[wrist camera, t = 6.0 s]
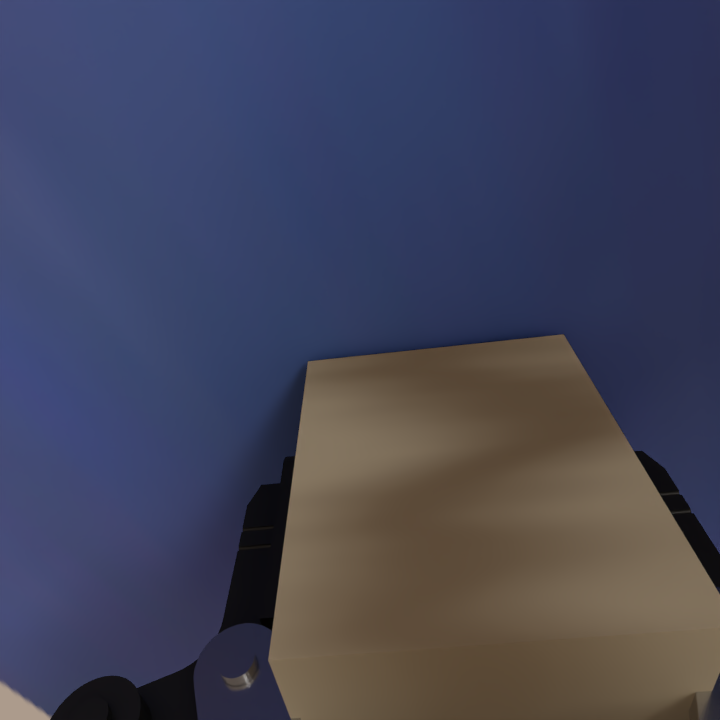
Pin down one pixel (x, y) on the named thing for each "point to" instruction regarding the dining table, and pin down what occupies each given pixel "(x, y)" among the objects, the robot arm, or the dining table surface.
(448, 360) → the birch block
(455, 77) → the dining table surface
